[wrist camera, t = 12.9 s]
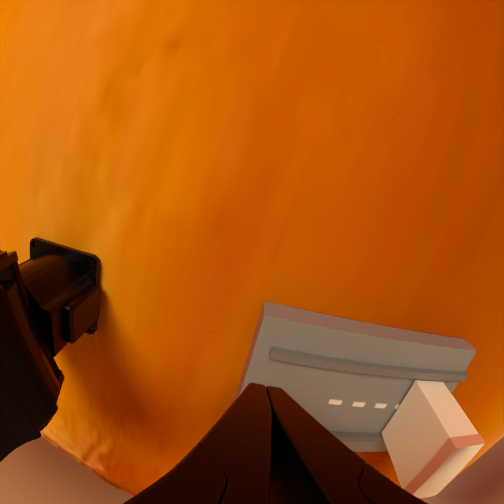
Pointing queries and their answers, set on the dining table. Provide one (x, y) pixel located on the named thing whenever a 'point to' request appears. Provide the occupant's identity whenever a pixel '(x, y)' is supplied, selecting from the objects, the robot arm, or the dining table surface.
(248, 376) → the toy road segment
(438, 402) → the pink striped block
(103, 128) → the dining table surface
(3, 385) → the robot arm
